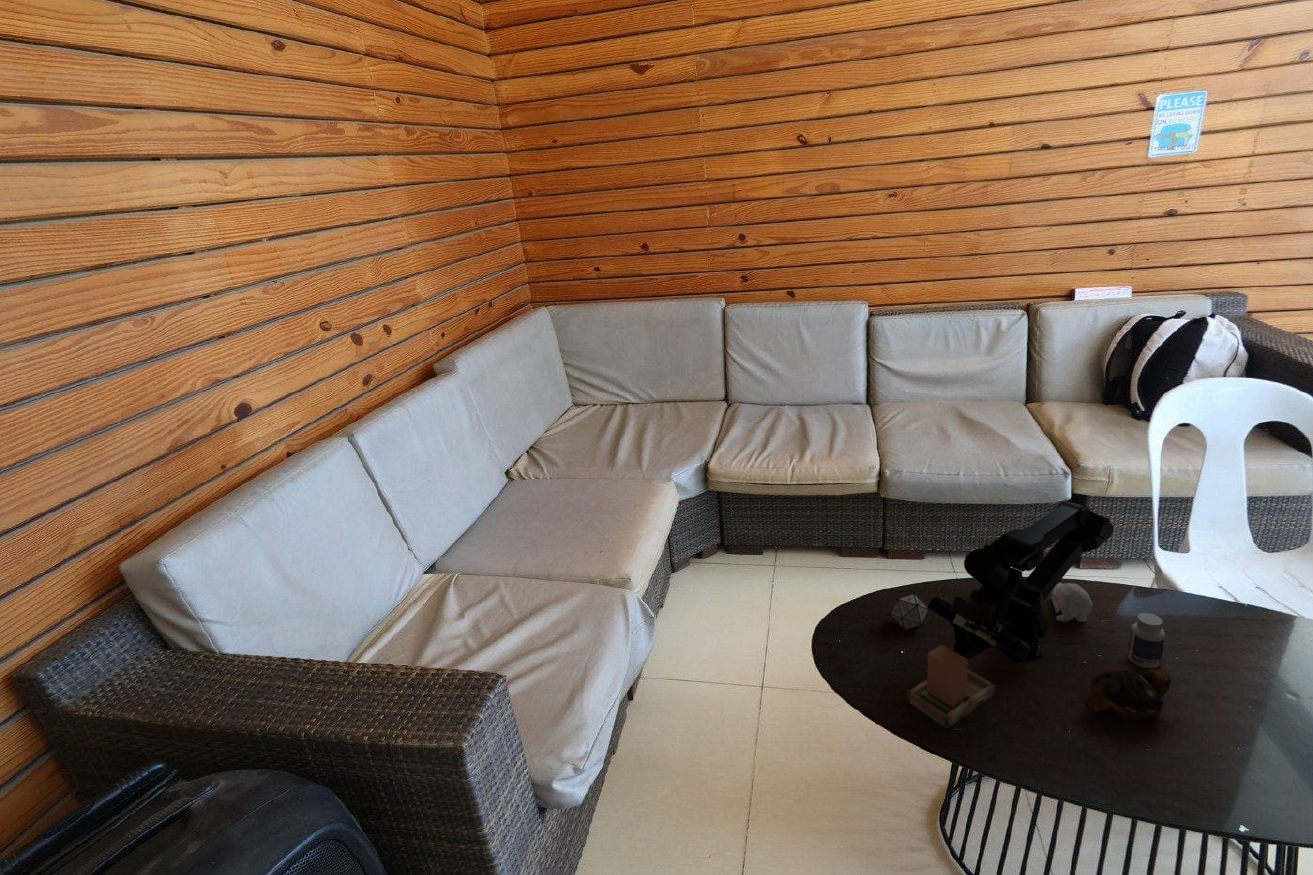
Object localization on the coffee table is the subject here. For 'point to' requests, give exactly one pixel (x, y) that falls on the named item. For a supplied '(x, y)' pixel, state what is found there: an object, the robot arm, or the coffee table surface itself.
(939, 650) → the terracotta block
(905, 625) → the game die
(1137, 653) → the pill bottle
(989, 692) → the box
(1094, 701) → the decorative turtle
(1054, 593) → the white bear figurine
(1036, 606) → the robot arm
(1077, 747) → the coffee table surface
